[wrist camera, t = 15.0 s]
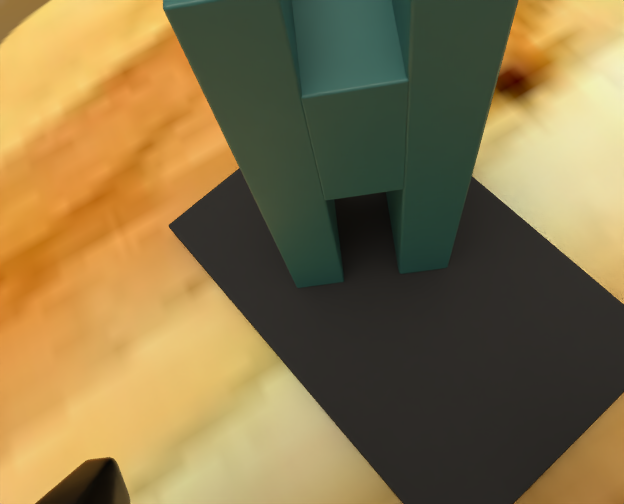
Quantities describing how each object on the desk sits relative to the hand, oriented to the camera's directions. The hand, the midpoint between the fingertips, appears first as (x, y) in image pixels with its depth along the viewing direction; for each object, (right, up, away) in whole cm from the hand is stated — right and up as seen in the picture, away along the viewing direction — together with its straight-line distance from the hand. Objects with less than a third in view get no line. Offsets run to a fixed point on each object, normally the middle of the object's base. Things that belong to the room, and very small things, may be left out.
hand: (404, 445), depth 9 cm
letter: (0, +4, +11) cm, 12 cm away
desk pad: (+1, +2, +11) cm, 11 cm away
